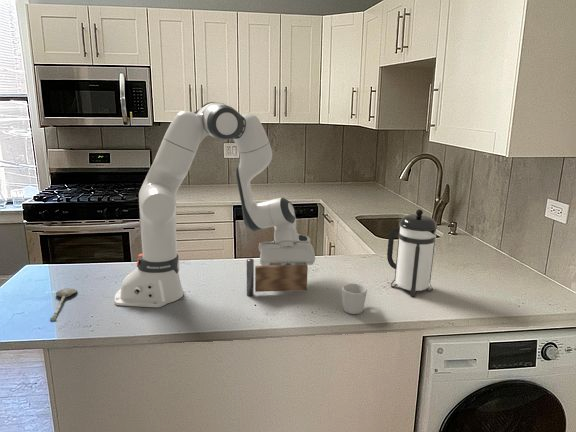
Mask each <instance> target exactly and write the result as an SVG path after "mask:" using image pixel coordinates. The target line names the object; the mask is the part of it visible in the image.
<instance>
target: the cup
mask: <svg viewBox="0 0 576 432" xmlns="http://www.w3.org/2000/svg"><path fill="white" fill-rule="evenodd" d="M367 293H368V289H367V287H366V286H364V285H362V284H359V283H353V282H352V283H350V282H349V283H345V284H343V286H342V287H341V295H342V297H341V298H342V299H341V300H342V309H343V310H344V312H345V313H348V314H350V315H359V314H361V313H363V311H364V309H365V304H366V297H367Z"/></svg>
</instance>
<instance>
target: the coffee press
mask: <svg viewBox="0 0 576 432" xmlns="http://www.w3.org/2000/svg"><path fill="white" fill-rule="evenodd" d="M423 213H424V211H423V210H422V209H417V210H416V212H415V214H408V215H407V214H406V215H405V216H403V217H402V218H401V220H400V221H399V222H398V223H399V224H398V225H399V227H394V228H392V229H391V231H390V232H389V235H388V241H387V254H386V255H387V256H386V260H387V263H388V264H389V266H390V267H391V268H392V269H394V279H393V280H392V282H390V287H391V288H395V287H397V286H399V287H400V288H401V289H404V290H406V291H410V297H412V298H415V297H416V292H419V291H420V292H422V291H425V290H427V291H429V292H432V291H433V290H434V288H433V286H432V284H431V278H432V272H433V271H432V269H433V260H434V253H435V246H436V245H435V244H436V243H435V242H436V238H437V230H438V224H437V223H436V221H435V219H434V218H432V217H431V216H428V215H424V214H423ZM396 234H398V239H397V250H396V259H395V260H396V261H394V259H393V251H394V241H395V240H394V239H395V235H396ZM394 282H395V283H396V284H394ZM393 284H394V285H393ZM429 287H430V288H431V289H430V288H429Z"/></svg>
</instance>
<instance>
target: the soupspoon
mask: <svg viewBox="0 0 576 432" xmlns="http://www.w3.org/2000/svg"><path fill="white" fill-rule="evenodd" d="M77 292H78V290H77V289H75V288H70V287H69V288H62V289H60V290H59V289H58V291H57V292H55V295H56V296H58V297H60V298H61V299H60V300H59V303H58V305H57V308H56V310H55V312H54V313H53V315H52V317H50V318H49V320H50V321H57V317H58V316H57V315H58V312H59V311H60V309H61V306H62V305H63V302H64V300H65V299H66V298H68V297H70V296H72V295H73V294H75V293H77Z"/></svg>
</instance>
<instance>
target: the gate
mask: <svg viewBox="0 0 576 432" xmlns="http://www.w3.org/2000/svg"><path fill="white" fill-rule="evenodd" d="M254 266H255V269H254V271H255V272H254V277H255V278H254V286H255V287H254V291H255V293H256V292H257V293H262V292H263V293H264V292H289V291H290V292H291V291H294V292H295V291H307V290H308V270H309V269H308V268H309V267H308V266H309V265H271V266H262V265H254Z"/></svg>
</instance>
